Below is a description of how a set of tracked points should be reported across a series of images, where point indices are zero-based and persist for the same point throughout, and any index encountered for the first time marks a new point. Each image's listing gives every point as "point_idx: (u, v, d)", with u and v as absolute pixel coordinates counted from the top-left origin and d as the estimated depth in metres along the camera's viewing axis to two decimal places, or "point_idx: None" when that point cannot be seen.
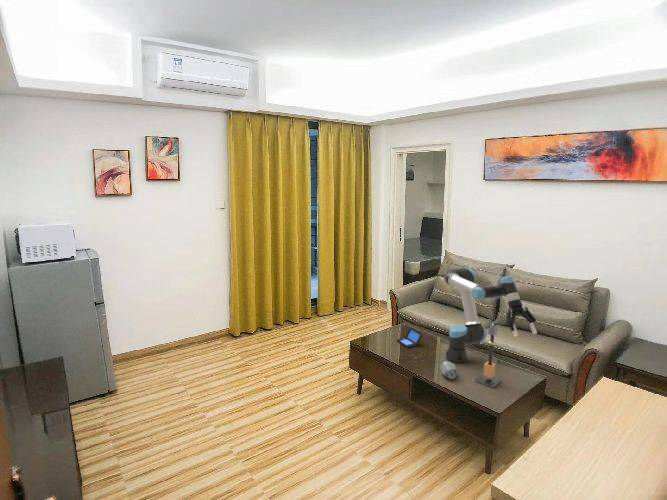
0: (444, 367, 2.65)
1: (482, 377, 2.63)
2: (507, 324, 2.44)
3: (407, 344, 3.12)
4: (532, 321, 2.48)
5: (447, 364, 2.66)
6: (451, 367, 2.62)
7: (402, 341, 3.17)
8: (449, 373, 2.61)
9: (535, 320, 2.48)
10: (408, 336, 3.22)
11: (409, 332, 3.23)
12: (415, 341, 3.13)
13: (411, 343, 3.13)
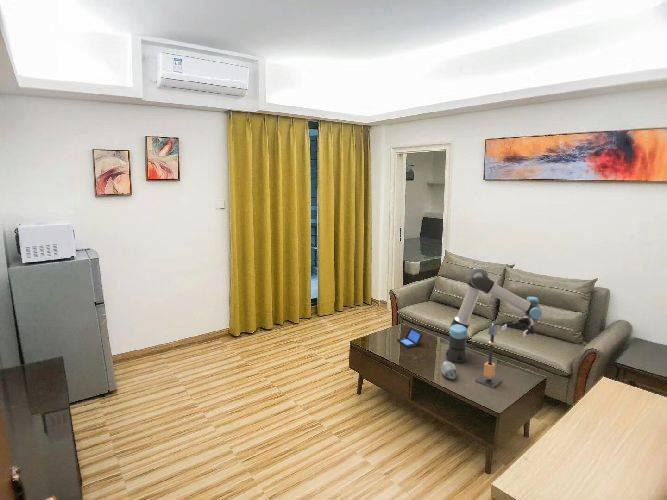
0: (444, 367, 2.65)
1: (482, 377, 2.63)
2: (533, 332, 2.61)
3: (407, 344, 3.12)
4: None
5: (447, 364, 2.66)
6: (451, 367, 2.62)
7: (402, 341, 3.17)
8: (449, 373, 2.61)
9: None
10: (408, 336, 3.22)
11: (409, 332, 3.23)
12: (415, 341, 3.13)
13: (411, 343, 3.13)
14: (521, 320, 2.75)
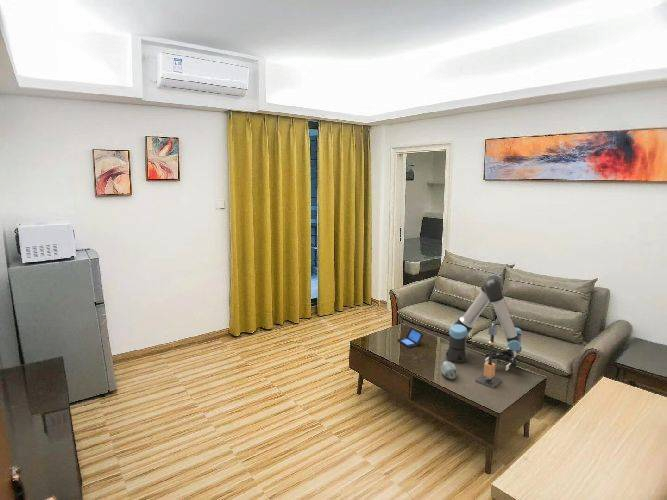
0: (444, 367, 2.65)
1: (482, 377, 2.63)
2: None
3: (408, 344, 3.12)
4: None
5: (447, 364, 2.66)
6: (451, 367, 2.62)
7: (403, 341, 3.17)
8: (449, 373, 2.61)
9: None
10: (409, 336, 3.22)
11: (410, 332, 3.23)
12: (416, 341, 3.14)
13: (412, 343, 3.14)
14: (504, 352, 2.77)
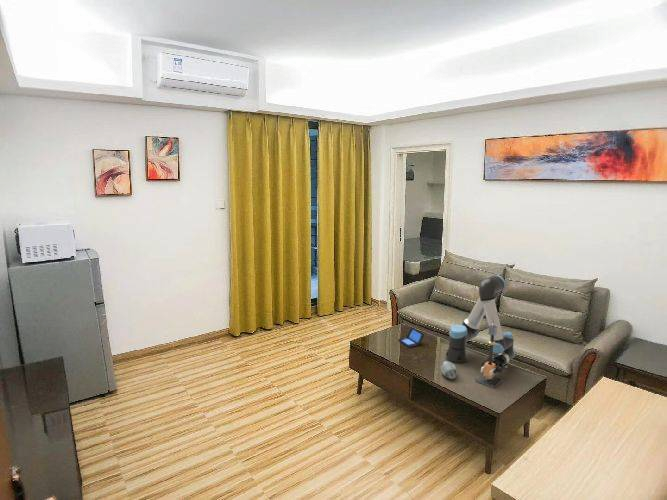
0: (444, 367, 2.65)
1: (482, 377, 2.63)
2: (500, 370, 2.56)
3: (409, 344, 3.12)
4: None
5: (447, 364, 2.66)
6: (451, 367, 2.62)
7: (404, 341, 3.17)
8: (449, 373, 2.61)
9: None
10: (409, 336, 3.22)
11: (410, 332, 3.23)
12: (417, 341, 3.14)
13: (413, 343, 3.14)
14: (497, 357, 2.69)
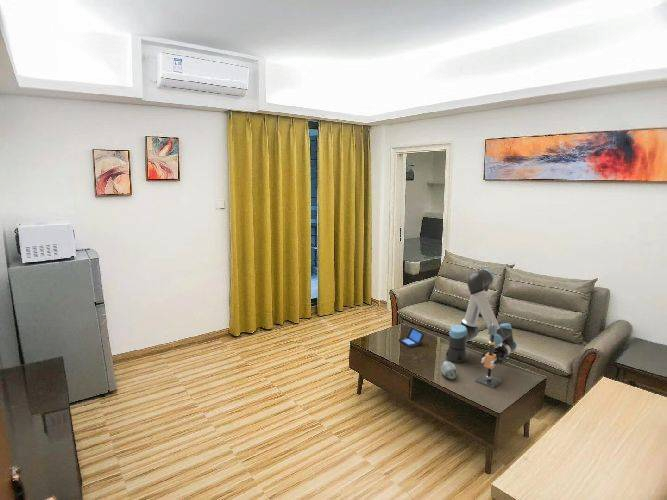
0: (444, 367, 2.65)
1: (482, 377, 2.63)
2: (501, 362, 2.55)
3: (409, 344, 3.12)
4: None
5: (447, 364, 2.66)
6: (451, 367, 2.62)
7: (404, 341, 3.17)
8: (449, 373, 2.61)
9: None
10: (410, 336, 3.22)
11: (411, 332, 3.23)
12: (417, 341, 3.14)
13: (413, 343, 3.14)
14: (498, 348, 2.68)
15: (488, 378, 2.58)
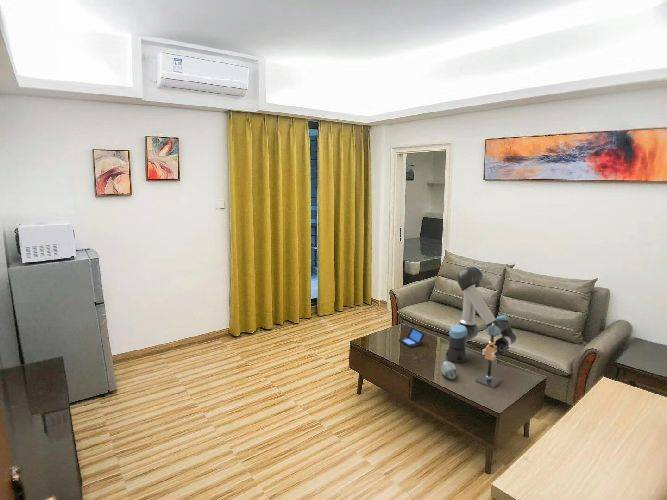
0: (444, 367, 2.65)
1: (482, 377, 2.63)
2: (502, 353, 2.54)
3: (410, 344, 3.12)
4: None
5: (447, 364, 2.66)
6: (451, 367, 2.62)
7: (404, 341, 3.17)
8: (449, 373, 2.61)
9: None
10: (410, 336, 3.22)
11: (411, 332, 3.24)
12: (417, 340, 3.14)
13: (413, 342, 3.14)
14: (498, 340, 2.67)
15: (488, 378, 2.58)
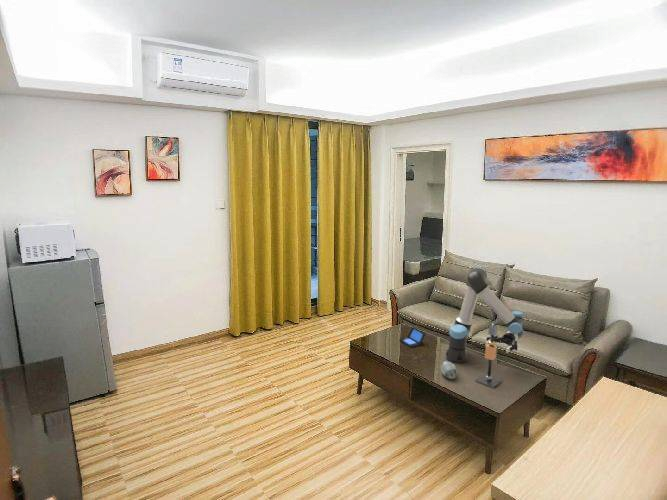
0: (444, 367, 2.65)
1: (482, 377, 2.63)
2: (516, 348, 2.60)
3: (410, 343, 3.13)
4: None
5: (447, 364, 2.66)
6: (451, 367, 2.62)
7: (405, 341, 3.18)
8: (449, 373, 2.61)
9: (487, 341, 2.74)
10: (411, 335, 3.23)
11: (411, 331, 3.24)
12: (418, 340, 3.15)
13: (414, 342, 3.15)
14: (505, 335, 2.74)
15: (488, 378, 2.58)
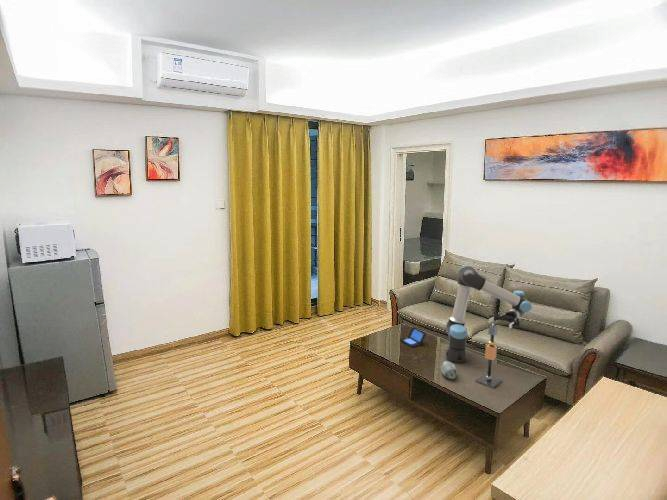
0: (444, 367, 2.65)
1: (482, 377, 2.63)
2: (519, 324, 2.69)
3: (411, 343, 3.13)
4: None
5: (447, 364, 2.66)
6: (451, 367, 2.62)
7: (406, 340, 3.18)
8: (449, 373, 2.61)
9: (490, 319, 2.83)
10: (411, 335, 3.23)
11: (412, 331, 3.24)
12: (419, 340, 3.15)
13: (415, 342, 3.15)
14: (508, 313, 2.83)
15: (488, 378, 2.58)
